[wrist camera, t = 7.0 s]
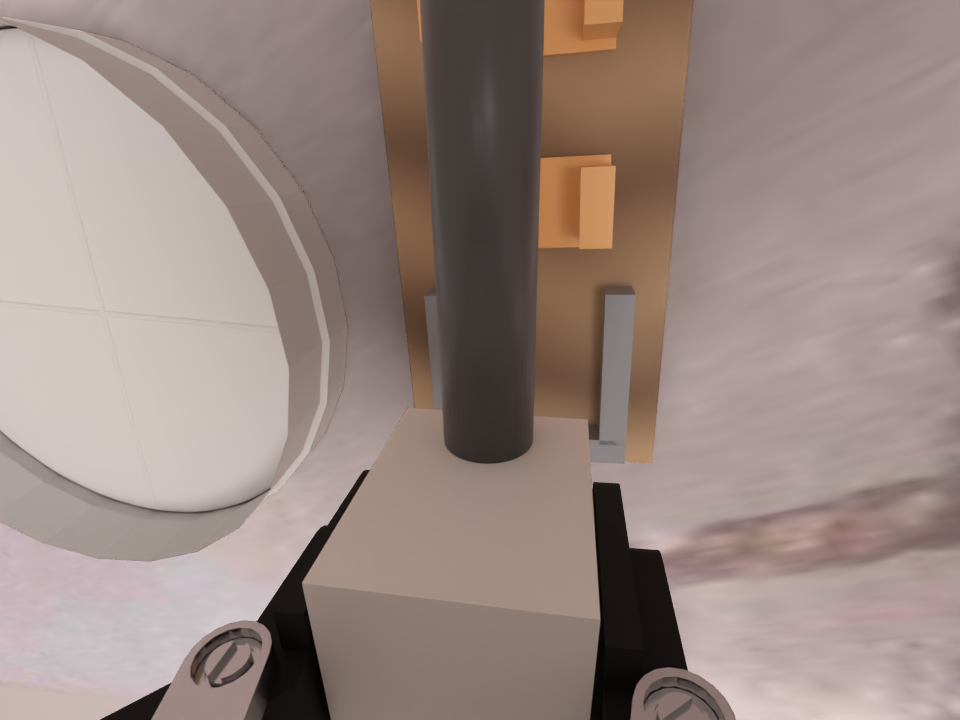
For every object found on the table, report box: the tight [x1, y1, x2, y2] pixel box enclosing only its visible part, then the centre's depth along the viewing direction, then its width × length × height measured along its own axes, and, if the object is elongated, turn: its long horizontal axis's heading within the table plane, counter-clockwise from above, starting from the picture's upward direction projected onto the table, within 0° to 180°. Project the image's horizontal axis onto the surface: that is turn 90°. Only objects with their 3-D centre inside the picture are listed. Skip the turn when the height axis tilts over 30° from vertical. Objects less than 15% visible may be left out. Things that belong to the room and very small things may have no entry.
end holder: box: [424, 286, 636, 463], centre depth 20 cm, size 7×8×1 cm
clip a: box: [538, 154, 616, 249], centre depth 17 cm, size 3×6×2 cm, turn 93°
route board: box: [370, 0, 694, 463], centre depth 18 cm, size 24×10×1 cm, turn 3°
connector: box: [302, 0, 600, 720], centre depth 7 cm, size 17×4×5 cm, turn 1°
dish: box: [0, 17, 348, 562], centre depth 22 cm, size 22×22×5 cm
